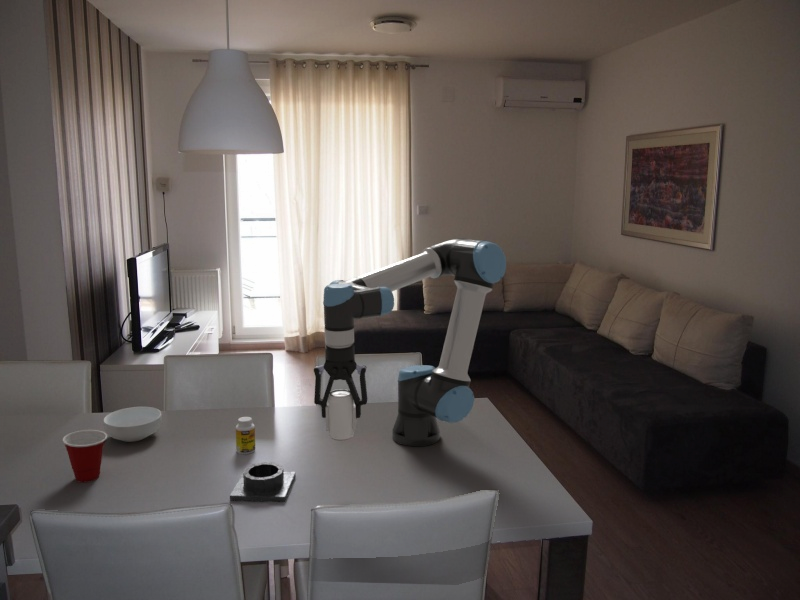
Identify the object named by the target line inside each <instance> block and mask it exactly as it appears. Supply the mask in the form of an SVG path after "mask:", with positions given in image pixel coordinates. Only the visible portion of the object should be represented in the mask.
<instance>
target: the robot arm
mask: <svg viewBox="0 0 800 600" xmlns="http://www.w3.org/2000/svg"><path fill="white" fill-rule="evenodd" d="M506 269H507V258H506V255H505V253H504V250H503V248H501V246H500V245H498V244H497V243H495V242H491V241H486V240H481V239H480V240H479V239H478V240H477V239H467V238H461V237H460V238H458V237H457V238H453V239H448V240H444V241H442V242H439V243H437V244H436V243H435V244H433V245H431V246H428V247H425V248H423V249H422V250H421V252H420V253H419V254H415V255H413V256H410V257H408V258H405V259H403V260H400V261H397V262H395V263H392V264H389V265H387V266H383V267H381V268H378V269H375V270H373V271H371V272H367V273H364V274H362V275H359V276H356V277H353V278H350V279H348V280H343V279H340V280H339V279H337V280H333V281H332V282H330V283H329V284H328V285H326V286H325V287H324V289H323V302H322V303H323V321H324V322H323V323H324V344H325V346H324V354H325V355H324V356H325V357H324V359H325V361H324V363H323V364H322V365H315V366H314V368H313V373H314V376H315V379H314V382H315V383H314V399H313V403H314V405H318V406H320V408H321V418H323V419H325V431H326V432H329V406H328V399H329V396H330V392H331V391H332V389H333V384H334V382H335V381H339V380H342V381H345V382H346V384H347V386H348V390H349V391H350V392H351V395H352V398H353V431H354V432H356V431H357V428H358V420H357V419H360V418H361V415H362V412H361V411H362V409H361V407H362V406H363V405H367V403H368V391H367V380H366V372H367V365H359V364H357V362H356V360H355V359H356V358H355V344H354V343H355V320H359V319H365V318H373V317H382V316H384V315H387V314H390V313H391V312H393V309H394V308H395V307H394V306H395V297H394V294H393V292H395V291H397V290H400V289H402V288H405V287H408V286H410V285H412V284H415V283H417V282H420V281H423V280H425V279H428V278H430V279H436V278H437V279H438V278H439V277H443V276H453V277H454V280H453V282H454V284H455V286H456V288H457V289H456V293H455V297H454V301H453V305H452V310H451V313H450V318H449V322H448V327H447V330H446V335H445V339H444V343H443V348H442V352H441V355H440V359H439V360H440V361H439V364H438V366H437V367H435V366H433V365H426V364H425V365H424V364H422V365H421V364H418V365H417V364H416V365H410V366H404V367H403V368H401V369H400V370H399V371H398V379H397V416H396V419H395V420H394V421H395V422H394V424H393V428H392V440H394V441H395V442H396V443H398V444H400V445H403V446H407V447H426V446H431V445H434V444H436V443H437V442H439V440H440V439H441V431H440V430H441V429H440V427H439V424H438V420H440V421H442V422H445V423H446V422H447V423H450V424H456V423H460V422H462V421H463V420H464V418H467V417H468V415H470V414H471V411H472V410H473V407H474V403H475V395H474V392H473V391H472V389H471V388H470V384H471V378H470V376H469V374H468V371H469V366H470V362H471V358H472V354H473V350H474V346H475V341H476V337H477V333H478V329H479V324H480V320H481V317H482V312H483V307H484V304H485V300H486V296H487V294H488V293H490V292H492V291H493V289H494V284H495V283H498V282H499V281H501V279H503V278H504V275H505V274H506ZM324 370H325V371H326V373H327V375H328V376H329V379H328V382H327V384H326V388H325V390H324V395H323V398H321V390H322V374H323V373H324ZM355 371H356V373H357V374H358V375H359V383H360V384H359V385H360V386H359V387H360V393H361V398H360V395H359V393H358V390H357V387H356V384H355V382H354V379H353V378H354V377H353V376H352V375H353V373H354V372H355ZM437 419H438V420H437Z"/></svg>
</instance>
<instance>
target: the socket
mask: <svg viewBox="0 0 800 600" xmlns="http://www.w3.org/2000/svg"><path fill="white" fill-rule="evenodd" d="M296 476H297V475H296V471H284V468H283V466H282V465H281V464H279V463H275V462H267V461H266V462H264V461H262V462H258V463H253V464H251V465H250V466H247V467H245V469H244V471H243V473H242V474H241V476H240V477H239V480H238V481H237V483H236V484H235V486H234V488H233V489H232V491H231V493H230V495H229V502H251V503H252V502H253V503H256V502H257V503H286V501H287V499H288V497H289V496H288V495H289V493H290V491H291V490H292V486H293V484H294V482H295V479H296Z"/></svg>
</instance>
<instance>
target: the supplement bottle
mask: <svg viewBox="0 0 800 600" xmlns="http://www.w3.org/2000/svg"><path fill="white" fill-rule="evenodd" d="M255 427H256V426H255V424H254V423H253V418H252V417H250V416H242V417H241V416H240V417H239V418H238V419H237V424H236V426H235V446H236V449H235V450H236V452H237V453H238V454H240V455H249V454H252V453H254V452H255V451H256V428H255Z"/></svg>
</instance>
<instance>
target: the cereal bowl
mask: <svg viewBox="0 0 800 600" xmlns="http://www.w3.org/2000/svg"><path fill="white" fill-rule="evenodd" d="M162 420H163V419H162V411H161V410H160V409H158V408H156V407H152V406H151V407H150V406H133V407H127V408H126V407H125V408H121V409H118V410H115V411H113V412H110V413H108V414H107V415H105V417H103V426H104V432H105V433H106V434H107V436H110V437H111V438H112V439H115V440H117V441H118V440H119V441H123V442H131V443H133V442H139V441H142V440H144V439H146V438H147V437H149V436H151V435H153V434H154V433H156V432H157V430H159V428H160V426H161V424H162Z"/></svg>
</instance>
